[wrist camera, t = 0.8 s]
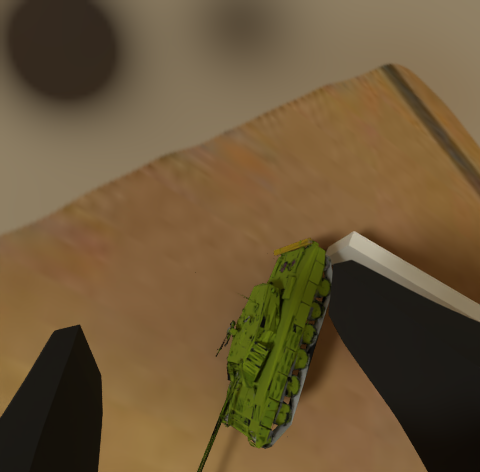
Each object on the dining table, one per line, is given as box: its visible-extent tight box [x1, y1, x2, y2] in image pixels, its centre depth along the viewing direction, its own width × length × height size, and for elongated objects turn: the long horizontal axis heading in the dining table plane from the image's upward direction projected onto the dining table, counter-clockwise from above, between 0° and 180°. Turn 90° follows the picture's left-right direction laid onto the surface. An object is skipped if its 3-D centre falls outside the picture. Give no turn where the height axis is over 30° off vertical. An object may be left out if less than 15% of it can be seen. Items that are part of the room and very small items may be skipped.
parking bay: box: [325, 231, 480, 322], centre depth 23 cm, size 24×20×4 cm
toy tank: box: [195, 238, 332, 472], centre depth 22 cm, size 7×19×10 cm
